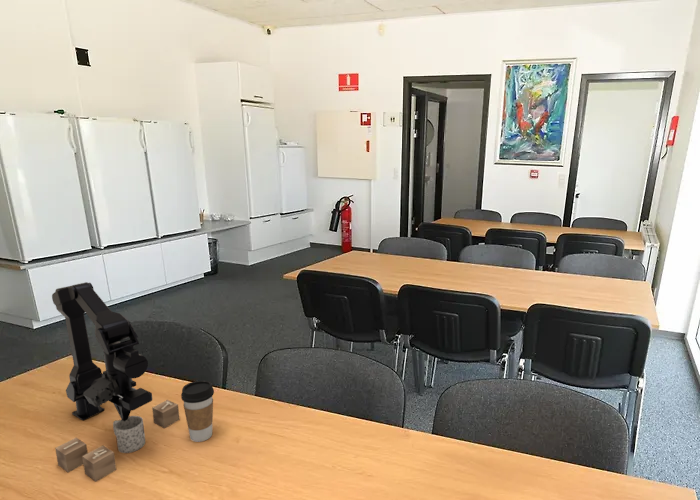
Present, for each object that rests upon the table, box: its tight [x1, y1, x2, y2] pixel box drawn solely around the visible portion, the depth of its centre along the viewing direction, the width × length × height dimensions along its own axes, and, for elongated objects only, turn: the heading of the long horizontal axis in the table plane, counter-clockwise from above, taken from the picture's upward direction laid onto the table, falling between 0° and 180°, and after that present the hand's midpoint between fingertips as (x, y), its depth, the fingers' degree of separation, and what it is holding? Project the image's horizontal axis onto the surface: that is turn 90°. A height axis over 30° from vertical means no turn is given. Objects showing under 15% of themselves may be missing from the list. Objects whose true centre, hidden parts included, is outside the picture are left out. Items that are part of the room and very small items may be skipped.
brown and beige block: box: [151, 399, 180, 429], centre depth 130 cm, size 5×5×5 cm
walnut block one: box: [55, 437, 89, 473], centre depth 112 cm, size 5×5×5 cm
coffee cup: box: [180, 380, 215, 443], centre depth 122 cm, size 8×8×15 cm
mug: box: [112, 415, 146, 454], centre depth 120 cm, size 10×7×7 cm, turn 62°
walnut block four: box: [82, 444, 117, 482], centre depth 109 cm, size 5×5×5 cm
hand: (124, 420), depth 119 cm, fingers closed
